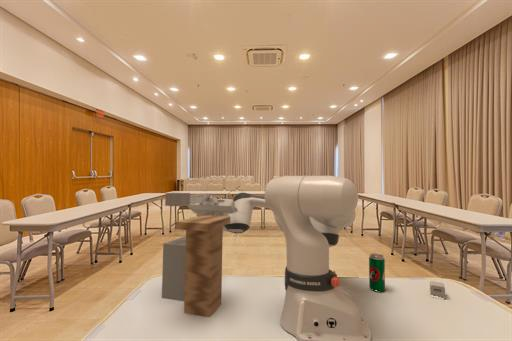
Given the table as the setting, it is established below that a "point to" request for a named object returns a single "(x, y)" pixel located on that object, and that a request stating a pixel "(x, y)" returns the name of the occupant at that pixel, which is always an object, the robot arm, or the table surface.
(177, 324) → the table surface
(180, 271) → the pedestal
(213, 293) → the brown wooden post
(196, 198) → the link bar
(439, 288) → the usb wall charger
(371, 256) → the soda can
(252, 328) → the table surface
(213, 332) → the table surface
